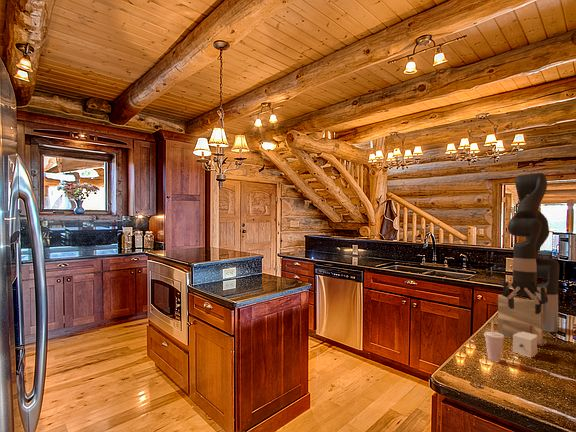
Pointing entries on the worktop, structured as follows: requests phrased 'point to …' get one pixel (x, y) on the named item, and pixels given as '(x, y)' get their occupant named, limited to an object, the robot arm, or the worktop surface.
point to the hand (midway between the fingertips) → (524, 311)
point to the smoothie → (494, 344)
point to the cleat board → (520, 318)
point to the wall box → (525, 344)
